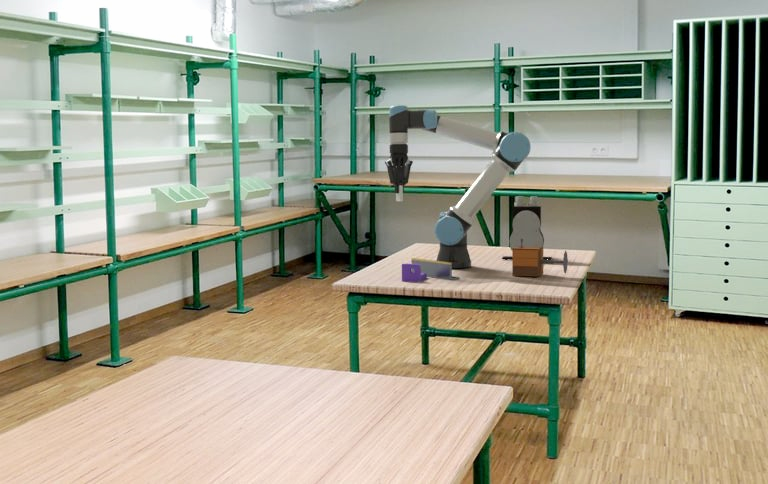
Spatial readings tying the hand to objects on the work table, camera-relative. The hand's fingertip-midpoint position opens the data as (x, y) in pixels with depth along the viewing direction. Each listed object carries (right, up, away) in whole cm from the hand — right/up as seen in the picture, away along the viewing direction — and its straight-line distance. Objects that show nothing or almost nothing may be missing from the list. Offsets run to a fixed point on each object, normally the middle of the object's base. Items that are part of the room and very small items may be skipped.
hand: (399, 201), depth 354 cm
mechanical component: (+59, -26, +37) cm, 75 cm away
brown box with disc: (+56, -30, -11) cm, 65 cm away
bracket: (+5, -32, -23) cm, 40 cm away
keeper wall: (+14, -30, -15) cm, 36 cm away
